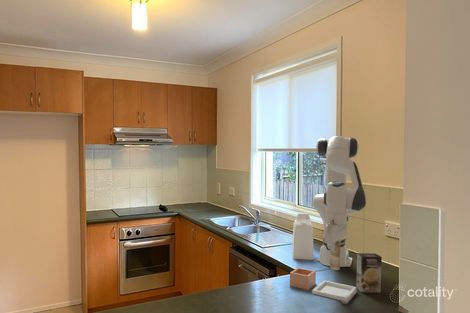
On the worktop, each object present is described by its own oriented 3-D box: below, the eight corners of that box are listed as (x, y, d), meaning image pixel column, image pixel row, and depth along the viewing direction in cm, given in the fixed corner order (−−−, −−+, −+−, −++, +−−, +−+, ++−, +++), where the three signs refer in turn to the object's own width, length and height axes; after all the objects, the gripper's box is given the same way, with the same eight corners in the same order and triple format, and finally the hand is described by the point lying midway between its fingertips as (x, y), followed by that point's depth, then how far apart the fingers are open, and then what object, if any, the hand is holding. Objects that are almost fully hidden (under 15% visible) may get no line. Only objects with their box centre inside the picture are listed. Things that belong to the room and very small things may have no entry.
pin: (331, 266, 163) (332, 239, 163) (340, 268, 160) (341, 241, 160) (328, 268, 159) (329, 241, 159) (338, 270, 157) (338, 242, 157)
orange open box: (297, 282, 175) (297, 267, 175) (315, 286, 170) (315, 271, 170) (289, 287, 167) (289, 272, 167) (308, 292, 162) (308, 276, 162)
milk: (311, 254, 224) (312, 212, 223) (313, 259, 212) (314, 215, 212) (291, 253, 225) (292, 211, 225) (292, 258, 213) (293, 214, 213)
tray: (324, 285, 170) (324, 280, 170) (356, 292, 162) (356, 287, 162) (312, 295, 158) (312, 290, 158) (346, 304, 150) (346, 298, 150)
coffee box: (361, 292, 162) (361, 256, 162) (355, 287, 169) (356, 252, 169) (381, 292, 163) (381, 256, 163) (375, 287, 169) (375, 253, 169)
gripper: (335, 223, 149) (334, 256, 149) (349, 216, 166) (349, 246, 167) (320, 221, 153) (320, 254, 153) (336, 215, 170) (335, 244, 170)
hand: (335, 250), depth 160 cm, fingers closed on pin, 4 cm apart
